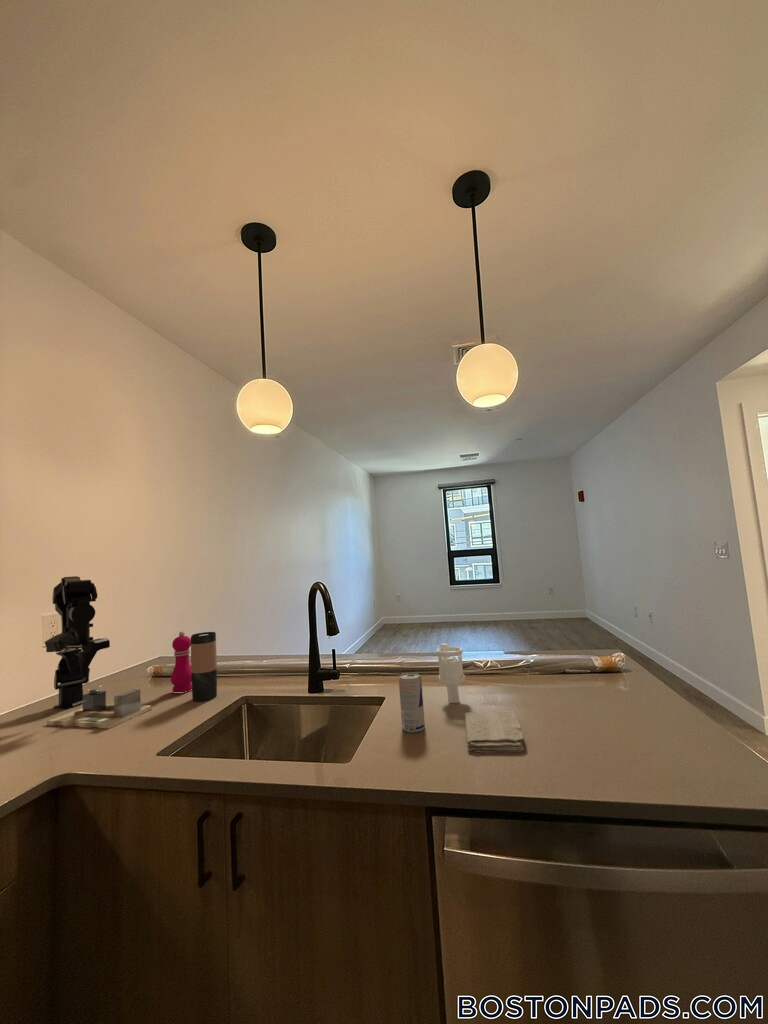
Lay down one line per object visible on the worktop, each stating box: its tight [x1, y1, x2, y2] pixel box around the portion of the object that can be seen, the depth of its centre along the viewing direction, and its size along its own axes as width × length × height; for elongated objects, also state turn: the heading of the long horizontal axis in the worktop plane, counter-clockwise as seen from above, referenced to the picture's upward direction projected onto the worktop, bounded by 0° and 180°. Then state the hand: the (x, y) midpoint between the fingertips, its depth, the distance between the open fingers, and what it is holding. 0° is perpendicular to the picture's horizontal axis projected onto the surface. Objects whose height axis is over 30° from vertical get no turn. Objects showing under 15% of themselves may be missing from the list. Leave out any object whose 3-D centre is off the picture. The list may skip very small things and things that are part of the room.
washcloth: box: [463, 710, 525, 753], centre depth 93 cm, size 12×18×3 cm, turn 172°
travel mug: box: [190, 631, 218, 703], centre depth 135 cm, size 8×8×20 cm
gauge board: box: [46, 688, 153, 729], centre depth 123 cm, size 23×14×7 cm, turn 73°
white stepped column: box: [436, 643, 466, 704], centre depth 116 cm, size 7×7×15 cm
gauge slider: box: [73, 688, 107, 712], centre depth 122 cm, size 4×8×6 cm, turn 163°
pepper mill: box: [170, 630, 192, 693], centre depth 145 cm, size 7×7×20 cm
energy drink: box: [398, 672, 426, 734], centre depth 100 cm, size 5×5×12 cm
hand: (77, 674), depth 127 cm, fingers open, 4 cm apart
